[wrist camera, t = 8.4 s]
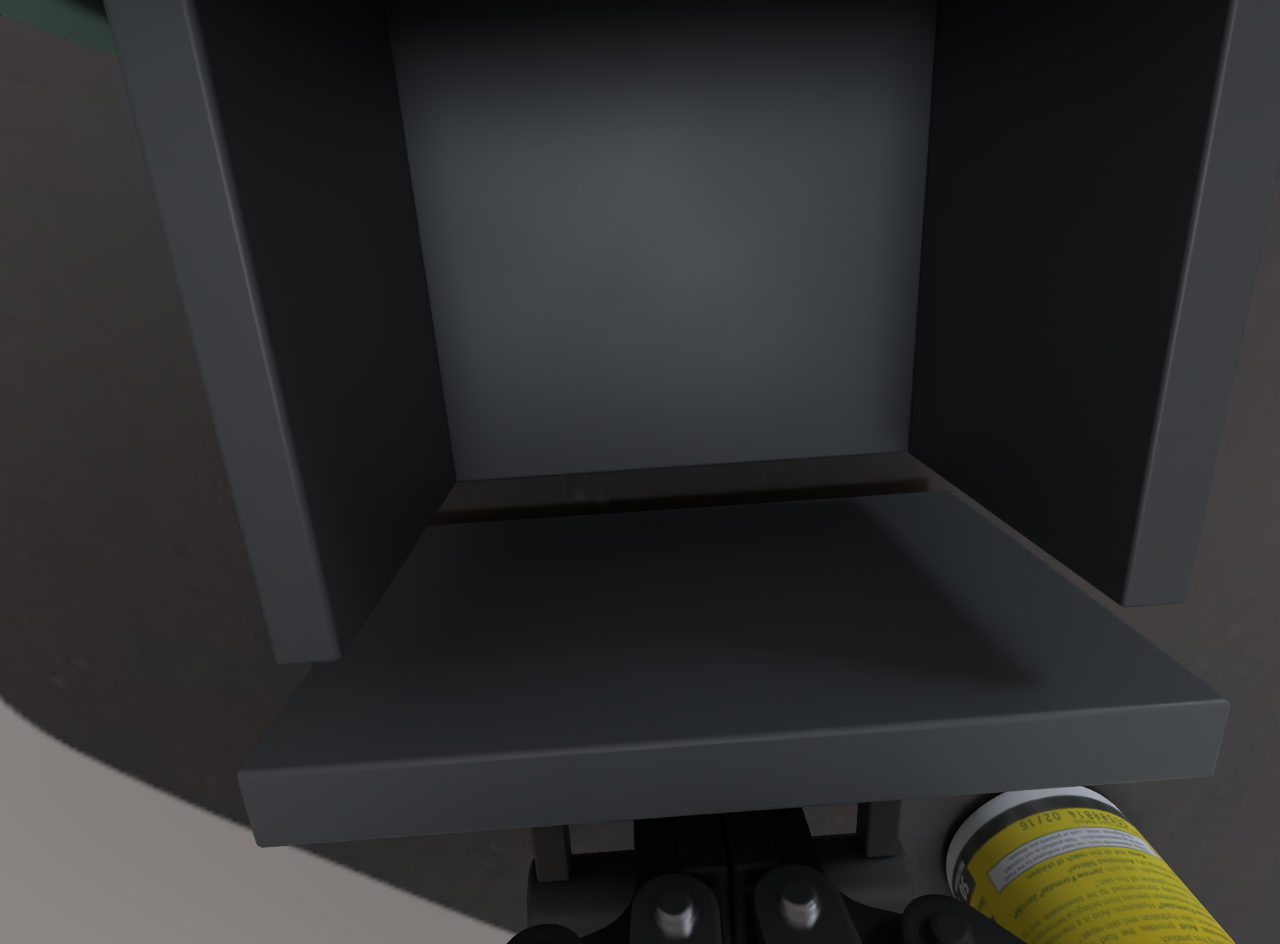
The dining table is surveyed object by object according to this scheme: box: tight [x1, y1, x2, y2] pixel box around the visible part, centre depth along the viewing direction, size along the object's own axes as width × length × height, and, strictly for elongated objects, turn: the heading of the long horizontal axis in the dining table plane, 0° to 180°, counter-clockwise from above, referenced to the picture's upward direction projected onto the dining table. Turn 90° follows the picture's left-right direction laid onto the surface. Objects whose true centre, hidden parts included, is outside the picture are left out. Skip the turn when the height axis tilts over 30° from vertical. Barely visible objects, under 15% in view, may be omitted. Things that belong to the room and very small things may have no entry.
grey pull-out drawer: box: [103, 0, 1280, 938], centre depth 11 cm, size 20×12×8 cm, turn 3°
